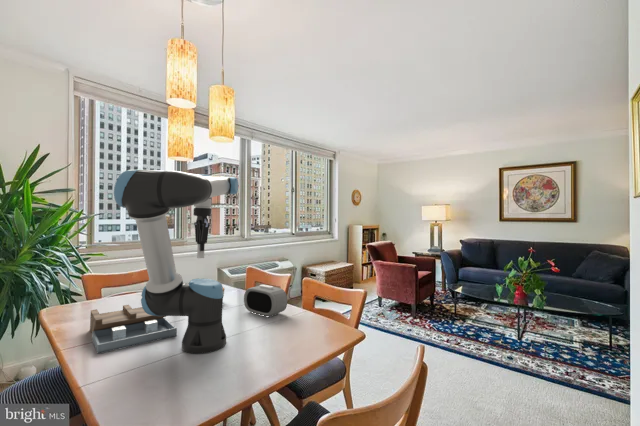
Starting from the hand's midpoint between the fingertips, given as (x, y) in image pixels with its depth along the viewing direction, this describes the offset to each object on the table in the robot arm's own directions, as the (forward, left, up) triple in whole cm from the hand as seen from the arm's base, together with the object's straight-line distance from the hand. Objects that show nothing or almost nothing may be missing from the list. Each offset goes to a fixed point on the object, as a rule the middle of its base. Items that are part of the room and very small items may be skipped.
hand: (200, 257), depth 141 cm
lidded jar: (+18, -15, -28) cm, 36 cm away
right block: (-6, +22, -25) cm, 34 cm away
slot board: (+2, +28, -27) cm, 39 cm away
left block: (-7, +33, -25) cm, 42 cm away
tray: (-9, +28, -27) cm, 40 cm away
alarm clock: (-14, -27, -28) cm, 41 cm away
